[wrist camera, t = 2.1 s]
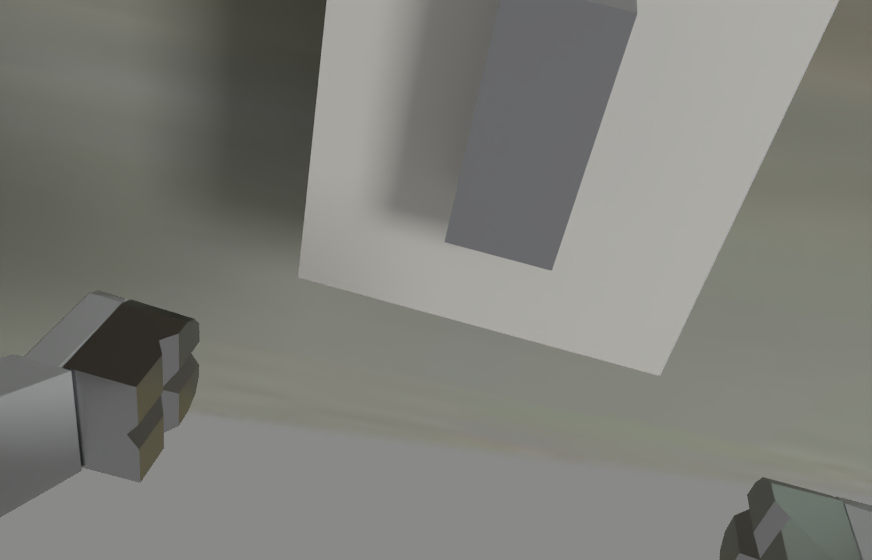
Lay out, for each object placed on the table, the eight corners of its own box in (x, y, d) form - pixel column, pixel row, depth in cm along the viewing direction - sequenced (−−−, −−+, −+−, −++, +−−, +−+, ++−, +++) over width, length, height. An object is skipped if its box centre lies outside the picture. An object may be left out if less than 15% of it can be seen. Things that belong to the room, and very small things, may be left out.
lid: (386, -318, 19) (317, -340, 15) (899, -201, 19) (985, -187, 14) (320, 242, 29) (265, 329, 24) (657, 332, 28) (663, 439, 24)
